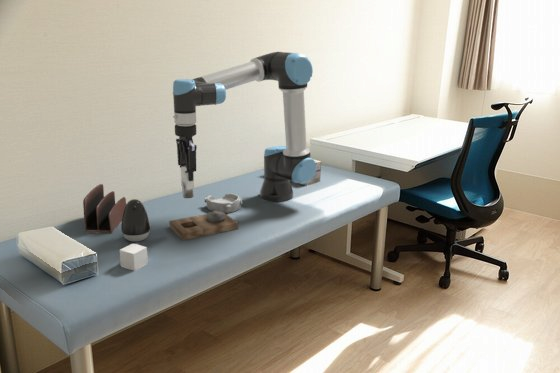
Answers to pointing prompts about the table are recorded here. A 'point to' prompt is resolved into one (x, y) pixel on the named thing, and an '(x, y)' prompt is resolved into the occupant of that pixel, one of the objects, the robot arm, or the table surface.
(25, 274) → the table surface
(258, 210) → the table surface
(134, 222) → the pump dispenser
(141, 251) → the white cube
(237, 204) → the dish
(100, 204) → the letter holder
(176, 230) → the plate
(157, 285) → the table surface
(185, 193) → the pin
